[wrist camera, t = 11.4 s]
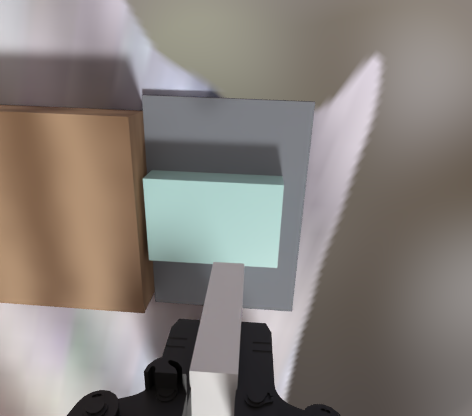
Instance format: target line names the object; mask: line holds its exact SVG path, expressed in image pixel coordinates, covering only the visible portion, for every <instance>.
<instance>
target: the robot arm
mask: <svg viewBox="0 0 472 416" xmlns="http://www.w3.org/2000/svg"><path fill="white" fill-rule="evenodd" d="M243 284H244V264H243V263H225V262H213V266H212V270H211V275H210V280H209V284H208V289H207V293H206V298H205V302H204V307H203V311H202V316H201V320H188V319H179V320H178V321H177V322H176V323H175V324H174V325H173V326H172V328H171V331H170V334H169V337H168V340H167V343H166V347H165V349H164V353H163V356H162V357H161V358H159V359H156V360H154V361H153V362H151V363H150V364H149V365H148V366H147V367H146V369H145V371H144V378H145V389H146V390H144V391H143V392H141V393H139V394H136V395H133V396H129V397H125V398H120V399H118V398H117V397H116V395H115V394H114V393H112V392H110V391H105V390H99V391H95V392H92V393H90V394H88V395H86V396H84V397H83V398H82V399H81V400H80V401H79V402H78V403H77V404H76V405H75V406H74V407H73V409H72V410H71V411H70V412H69V414H68V415H67V416H340V414H339V413H338V412H336V411H335V410H334V409H332V408H331V407H328V406H326V405H322V404H314V405H311V406H308V407H307V408H306V409H305V410H302V409H299V408H296V407H294V406H292V405H290V404H288V403H286V402H285V401H284V400H282V399H281V397H280V396H279V395H278V394H277V392H276V390H275V385H274V371H273V354H272V337H271V331H270V330H269V328H268V326H267V325H266V323H251V322H242V306H243Z"/></svg>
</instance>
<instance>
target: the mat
mask: <svg viewBox="0 0 472 416" xmlns="http://www.w3.org/2000/svg"><path fill="white" fill-rule="evenodd" d="M142 105H143V120H144V135H145V150H146V166H147V174H148V173H149V172H150V171H152V170H160V171H182V172H204V173H226V174H248V175H270V176H282V177H283V182H284V192H283V204H282V216H281V229H280V241H279V253H278V266H277V268H269V267H252V266H244V284H243V306H242V308H250V309H264V310H278V311H292V305H293V296H294V287H295V278H296V269H297V260H298V251H299V242H300V233H301V224H302V215H303V206H304V197H305V188H306V179H307V170H308V161H309V153H310V144H311V135H312V126H313V117H314V108H315V102H311V101H286V100H259V99H235V98H209V97H184V96H158V95H142ZM212 266H213V264H203V263H186V262H170V261H153V272H154V287H155V302H167V303H181V304H195V305H204V302H205V298H206V293H207V289H208V284H209V280H210V275H211V270H212Z"/></svg>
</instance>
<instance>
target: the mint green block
mask: <svg viewBox="0 0 472 416" xmlns="http://www.w3.org/2000/svg"><path fill="white" fill-rule="evenodd" d="M143 188H144V201H145V214H146V227H147V240H148V253H149V260H153V261H170V262H186V263H203V264H213V262H225V263H243V264H244V266H252V267H269V268H277V266H278V253H279V241H280V229H281V216H282V204H283V192H284V182H283V177H282V176H270V175H248V174H226V173H204V172H182V171H160V170H152V171H150V172H149V173H148V174H147V175H146V176H145V177H144V178H143Z"/></svg>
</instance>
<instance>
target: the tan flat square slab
mask: <svg viewBox="0 0 472 416" xmlns="http://www.w3.org/2000/svg"><path fill="white" fill-rule="evenodd" d="M146 175H147V166H146V150H145V135H144V120H143V111H137V110H113V109H90V108H66V107H42V106H18V105H0V303H13V304H27V305H40V306H54V307H67V308H81V309H94V310H107V311H121V312H134V313H145V310H146V308H147V306H148V304H149V302H150V300H151V298H152V296H153V294H154V292H155V287H154V272H153V260H149V253H148V240H147V227H146V214H145V201H144V188H143V178H144V177H145V176H146Z"/></svg>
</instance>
